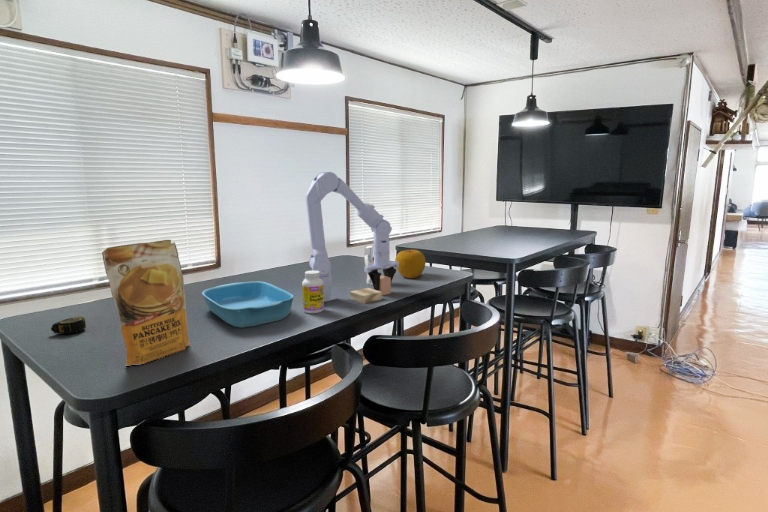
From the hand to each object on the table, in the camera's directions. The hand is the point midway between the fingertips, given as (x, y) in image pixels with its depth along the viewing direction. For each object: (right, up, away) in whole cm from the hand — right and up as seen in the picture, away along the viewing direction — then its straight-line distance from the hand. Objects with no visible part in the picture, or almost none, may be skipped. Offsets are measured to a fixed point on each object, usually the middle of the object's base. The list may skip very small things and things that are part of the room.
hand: (382, 289), depth 166 cm
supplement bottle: (-22, -6, -20) cm, 30 cm away
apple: (+12, +3, +26) cm, 29 cm away
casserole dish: (-43, -7, -21) cm, 48 cm away
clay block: (0, -2, 0) cm, 2 cm away
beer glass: (-3, +1, +15) cm, 16 cm away
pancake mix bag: (-55, -13, -54) cm, 78 cm away
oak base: (-6, -3, -7) cm, 9 cm away
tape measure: (-89, -10, -36) cm, 97 cm away
